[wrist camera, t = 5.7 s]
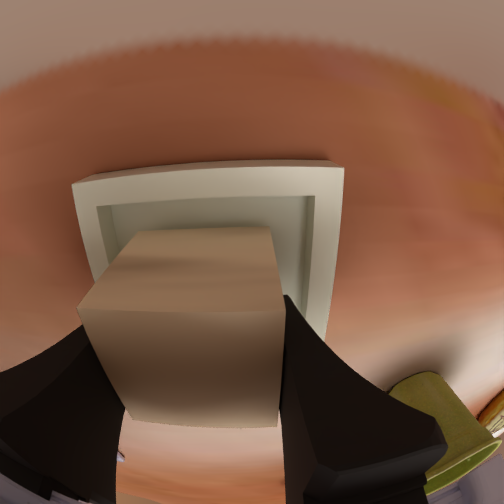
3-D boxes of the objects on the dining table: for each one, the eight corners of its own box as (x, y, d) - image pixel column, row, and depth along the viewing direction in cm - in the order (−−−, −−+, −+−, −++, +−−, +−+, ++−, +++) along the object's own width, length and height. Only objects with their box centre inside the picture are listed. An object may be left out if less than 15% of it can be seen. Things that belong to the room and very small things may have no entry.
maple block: (268, 331, 13) (276, 426, 8) (160, 331, 13) (132, 419, 8) (269, 226, 10) (285, 310, 6) (138, 231, 10) (76, 307, 6)
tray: (312, 348, 15) (317, 372, 13) (137, 349, 15) (128, 371, 13) (330, 160, 11) (344, 167, 9) (92, 174, 11) (71, 184, 9)
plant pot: (350, 383, 17) (383, 497, 9) (465, 335, 16) (522, 421, 8) (356, 435, 21) (375, 515, 13) (445, 399, 20) (477, 468, 12)
